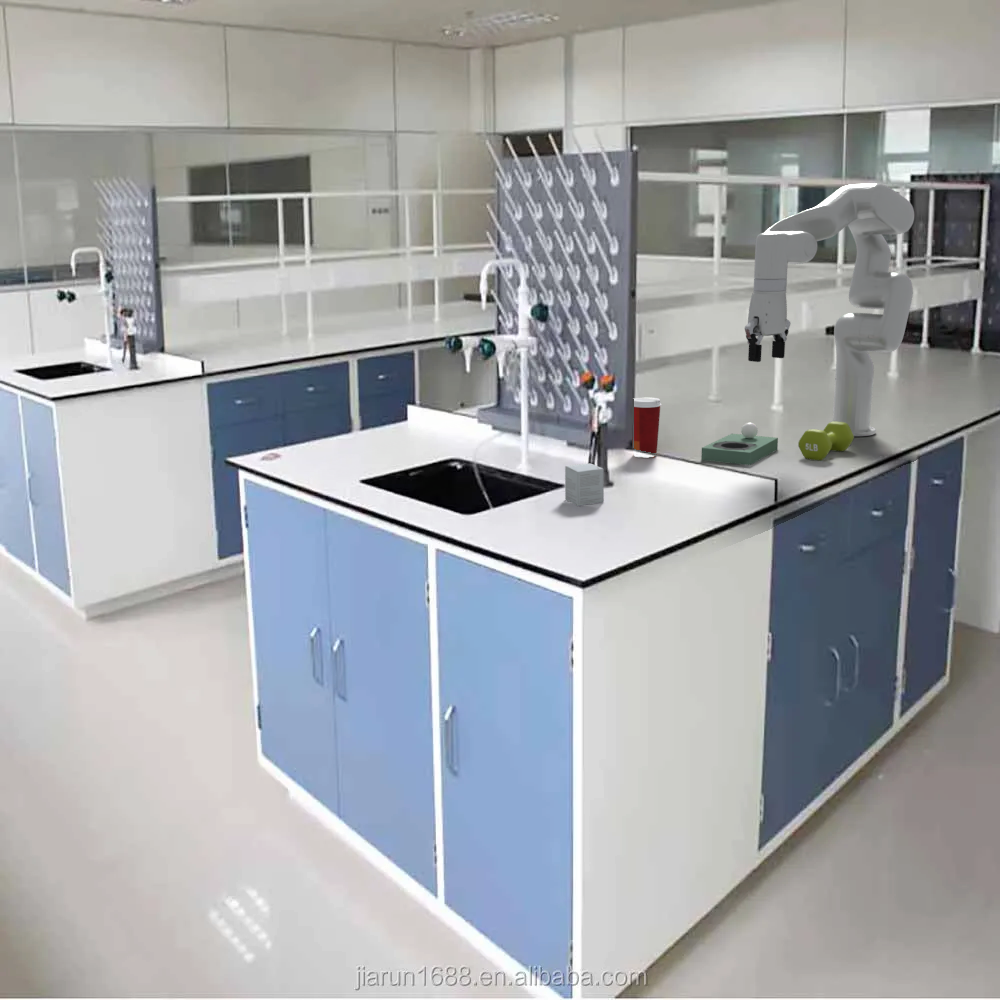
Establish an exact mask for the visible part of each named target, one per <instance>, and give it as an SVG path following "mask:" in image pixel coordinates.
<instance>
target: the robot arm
mask: <svg viewBox="0 0 1000 1000" xmlns="http://www.w3.org/2000/svg"><path fill="white" fill-rule="evenodd" d="M914 222H915V211H914V207H913V204H912V203H911V202H910V201H909V200H908V199H907V198H906V197H904V196H903V195H901V194H900V193H899V192H897V191H895V190H894V189H892V188H891V187H890V186H887V185H885V184H882V183H875V182H874V183H873V182H872V183H855V184H853V183H852V184H848V185H847V184H846V185H843V186H841V187H839V188H838V189H836V190H835V191H834V192H832V193H831V194H830V195H828V196H827V197H826V198H825V199H823V200H822V201H821V202H819V204H817V205H816V206H814V207H812V208H809V209H806V210H802V211H801V212H798V213H795V214H793V215H790V216H788V217H785V218H783V219H780V220H779V221H777V222H775V223H774V224H773V225H771V226H770V227H769V228H767V229H766V230H765V231H764V232H761V233H759V234H758V235H757V236H756V238H755V250H754V252H755V253H754V271H753V272H754V273H753V292H752V294H751V297H750V302H749V307H748V315H747V324H746V325H745V326H744V331H745V338H746V340H747V345H748V356H747V360H748V361H749V362H755V363H760V362H761V361H762V351H763V350H762V349H763V348H762V347H763V345H762V344H761V342H762V340H763V338H764V337H770V336H772V338H773V340H772V342H771V343H772V344H771V357H772V358H773V359H775V358H776V359H784V358H785V354H786V353H785V350H786V342H787V339H788V338H787V336H788V334H789V332H790V330H789V329H790V327H791V321H790V320H789V319H788V317H787V316H788V313H787V311H788V304H787V302H788V301H787V283H788V265H801V264H806V263H808V262H810V261H812V260H813V259H814V257H815V256H816V254H817V251H818V242H819V241H823V240H827V239H830V238H833V237H835V236H836V235H837V234H838V233H840V232H841V231H843V230H844V229H845V228H846V227H848V228H849V229H848V230H850V232H851V235H852V237H853V240H854V242H855V245H856V256H855V263H854V268H853V273H852V275H851V276H852V277H851V280H850V281H851V282H850V285H849V291H848V299H849V300H848V301H849V303H850V305H851V306H853V307H855V308H857V309H858V308H860V309H865V310H883V314H881V313H880V314H877V313H868V312H867V313H866V312H848V313H845V314H843V315H842V316H840V317H839V318H838V319H837V320H836V322H835V324H834V329H833V330H834V331H833V337H834V344H835V353H836V354H835V355H836V357H835V358H836V361H835V362H836V364H835V380H834V395H833V410H832V413H833V414H832V422H833V421H837V422H844V423H847V424H848V425H849V427H850V429H851V431H852V433H853V436H854V437H867V436H868V437H869V436H873V435H875V434H876V431H877V429H876V428H875V427H873V426H871V416H872V415H871V414H872V404H873V401H872V399H873V388H874V387H873V386H874V385H873V384H874V371H875V370H874V369H875V367H874V362H873V359H872V357H871V356H870V353H869V352H875V353H892V352H895V351H897V350H898V349H899V348H900V346H901V345H902V341H903V339H904V337H905V336H904V335H905V331H906V328H907V324H908V323H907V322H908V318H909V315H910V310H911V305H912V301H913V296H914V295H913V294H914V291H913V290H914V288H913V283H912V279H911V278H910V277H909V276H908V275H907V274H906V273H903V272H895V271H889V270H890V265H891V259H892V252H891V249H890V248H891V247H890V245H889V243H888V242H887V240H886V239H885V237H884V236H883V235H901V234H904V233H907V232H908V231H909V230H910V229H911V228H912V226H913V224H914Z"/></svg>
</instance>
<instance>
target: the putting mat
mask: <svg viewBox="0 0 1000 1000" xmlns="http://www.w3.org/2000/svg"><path fill="white" fill-rule="evenodd" d="M778 444H779V438H778V437H773V436H760V435H756V436H755V437H753V438H751V439H748V438H745V437H744V436H743V435H742V433H739V434H738V433H730V434H728V435H726V436H724V437H721V438H719V439H717V440H716V441H713V442H711V443H709V444H706V445H704V446H703V447H701V456H700V457H701V461H707V462H716V463H727V464H735V465H744V466H751V465H752V464H754V463H756V462H758V461H760V460H761V459H763V458H765V457H767V456H768V455H770V454H773V453H775V451H778V449H779V448H778Z"/></svg>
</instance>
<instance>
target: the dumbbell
mask: <svg viewBox="0 0 1000 1000" xmlns="http://www.w3.org/2000/svg"><path fill="white" fill-rule="evenodd" d="M854 439H855V436H853V433H852V431H851V429H850V427H849V425H848V424H847V423H844V422H837V421H833V420H832V421H829V422H828V423H827V425H826V426H825V427H824V429H823V430H822V429H815V428H814V429H812V428H811V429H807V430H805V431H804V433H803V434H802V435H801V437H800V438H799V440H798V448H799V450H800V452H801V455H802V457H803V458H805V459H806V460H810V459H811V461H822V460H824V459H825V458H826V457H827V456H828V454H829V453H830V451H832V452H833V451H834V452H845V451H846V450H848V449H849V447H850V445H852V443H853V441H854Z"/></svg>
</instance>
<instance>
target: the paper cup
mask: <svg viewBox="0 0 1000 1000" xmlns="http://www.w3.org/2000/svg"><path fill="white" fill-rule="evenodd" d="M633 399H634V449H636V450H641V451H646V452H651V453H657V451H658V442H659V441H658V439H659V429H660V428H659V427H660V417H661V406H663V404H662V403H661V399H660V398H658V397H645V396H644V397H634V398H633Z"/></svg>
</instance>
